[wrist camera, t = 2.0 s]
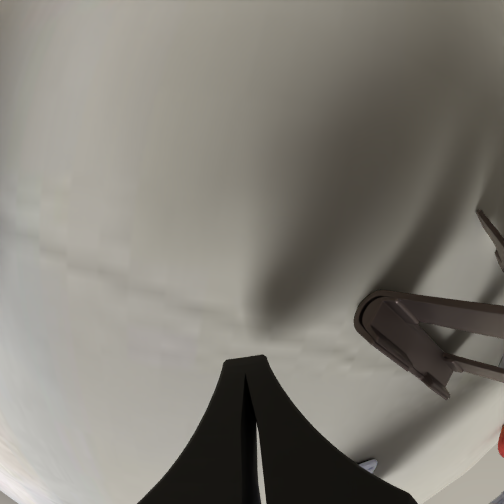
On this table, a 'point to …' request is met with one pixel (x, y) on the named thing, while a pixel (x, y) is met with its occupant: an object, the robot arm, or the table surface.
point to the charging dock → (502, 363)
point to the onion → (501, 442)
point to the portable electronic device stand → (433, 312)
